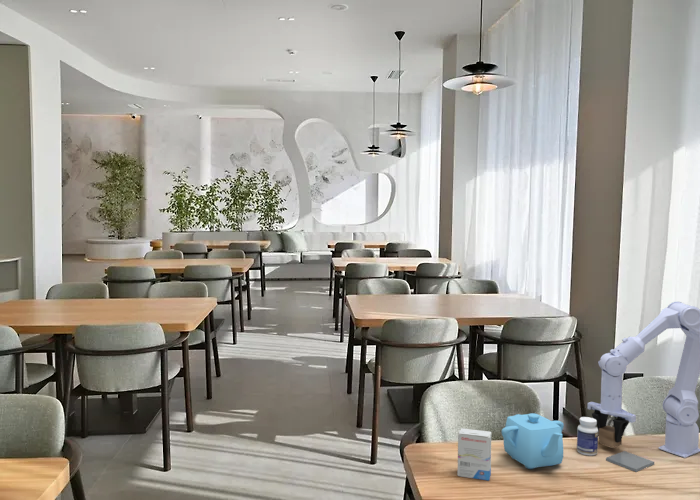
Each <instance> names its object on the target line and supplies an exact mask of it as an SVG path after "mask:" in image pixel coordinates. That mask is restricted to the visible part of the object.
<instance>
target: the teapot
mask: <svg viewBox="0 0 700 500" xmlns="http://www.w3.org/2000/svg"><path fill="white" fill-rule="evenodd" d="M564 425H565V424H564V422H563V421H562V420H561V421H560V420H550V419H549V418H546V417H544V416H542V415H540V414H538V413H535V412H534V413H533V412H532V413H526V414H519V413H518V414H517V413H516V414H515V415H509V416H507V418H506V422H505V427H503V428H502V429H501V435H502V437H503V448H504V452H505V453H506V454H507V455H509V456H510V457H511V459H513V460H516V461H517V462H519V463H520V464H522V465H524V468H525V469H527V470H528V469H529V470H534V469H536V468H541V467H542V468H543V467H553V466H555V465H560V464H562V462H563V459H564V439H563V435H564V434H563V433H562V432H563V430H564Z"/></svg>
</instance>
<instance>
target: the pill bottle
mask: <svg viewBox="0 0 700 500" xmlns="http://www.w3.org/2000/svg"><path fill="white" fill-rule="evenodd" d="M576 430H577V433H576V434H577V435H576V436H577V437H576V451H577V452H578V453H579V454H580V455H583V456H588V457H589V456H590V457H591V456H592V457H593V456H595V455H597V454H598V449H599V448H598V447H599V431H598V428H597V420H596V419H594V418H593V417H588V416H581V417H580V418H579V424H578V426H577V429H576Z"/></svg>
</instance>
